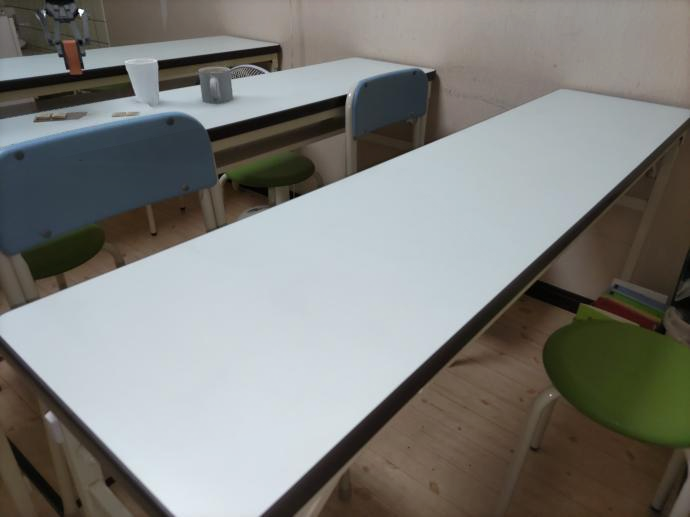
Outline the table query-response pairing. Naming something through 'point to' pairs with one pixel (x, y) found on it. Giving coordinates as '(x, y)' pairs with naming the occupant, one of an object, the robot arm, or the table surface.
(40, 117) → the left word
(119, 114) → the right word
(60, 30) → the robot arm
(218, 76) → the coffee mug
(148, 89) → the foam cup
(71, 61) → the orange rectangular block
